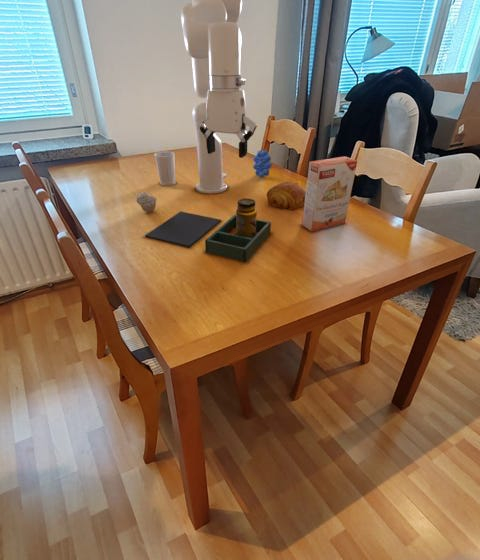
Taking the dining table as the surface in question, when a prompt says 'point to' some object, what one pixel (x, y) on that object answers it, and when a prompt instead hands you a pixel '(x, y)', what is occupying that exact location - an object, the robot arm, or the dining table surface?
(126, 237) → the dining table surface
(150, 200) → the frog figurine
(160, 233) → the mat
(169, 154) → the cup
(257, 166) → the grapes
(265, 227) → the caddy
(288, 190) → the croissant
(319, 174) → the cracker box
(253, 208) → the condiment
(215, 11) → the robot arm
